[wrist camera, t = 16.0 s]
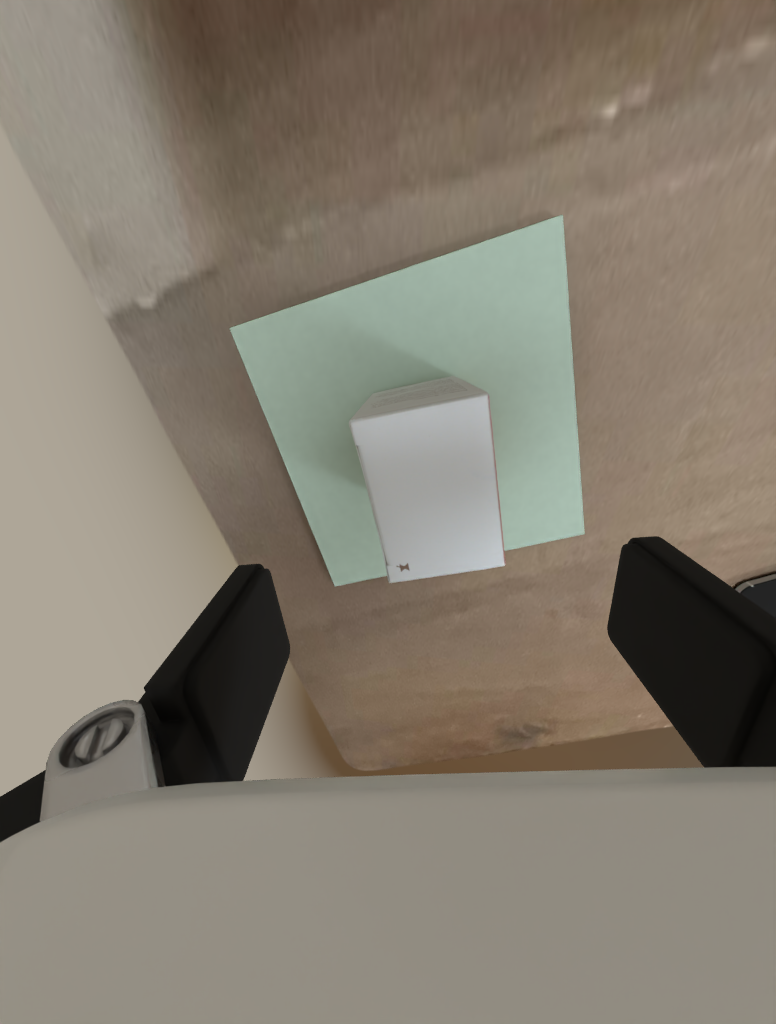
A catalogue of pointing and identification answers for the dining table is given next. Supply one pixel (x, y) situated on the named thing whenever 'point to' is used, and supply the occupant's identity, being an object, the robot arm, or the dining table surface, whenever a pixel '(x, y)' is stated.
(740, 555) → the dining table surface
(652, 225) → the dining table surface
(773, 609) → the smartphone
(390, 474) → the small box
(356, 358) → the mat
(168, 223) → the dining table surface
